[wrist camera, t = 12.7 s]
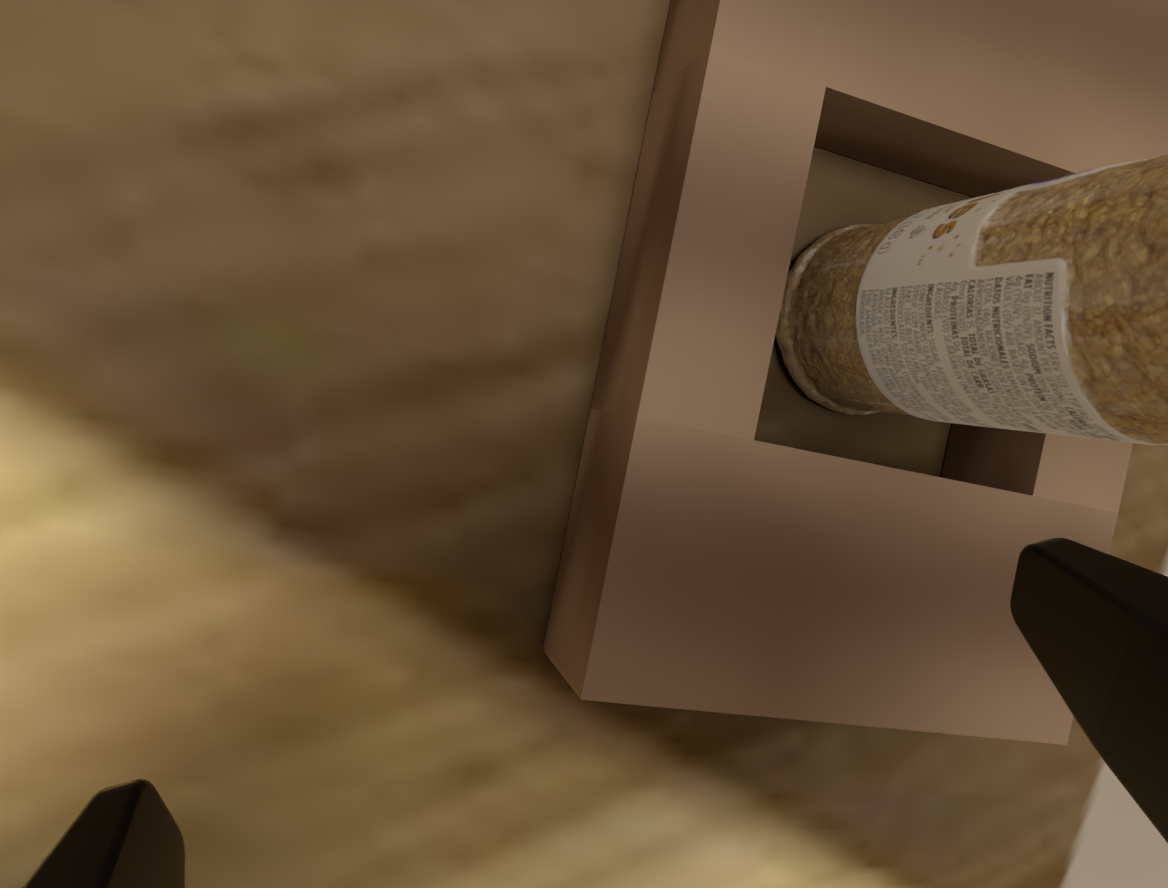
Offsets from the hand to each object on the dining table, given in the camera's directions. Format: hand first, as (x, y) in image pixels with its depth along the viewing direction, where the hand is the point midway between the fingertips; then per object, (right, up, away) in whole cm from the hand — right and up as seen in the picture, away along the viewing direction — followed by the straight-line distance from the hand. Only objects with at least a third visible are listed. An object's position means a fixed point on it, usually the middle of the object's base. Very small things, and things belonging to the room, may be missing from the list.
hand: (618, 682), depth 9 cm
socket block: (+6, +6, +12) cm, 15 cm away
